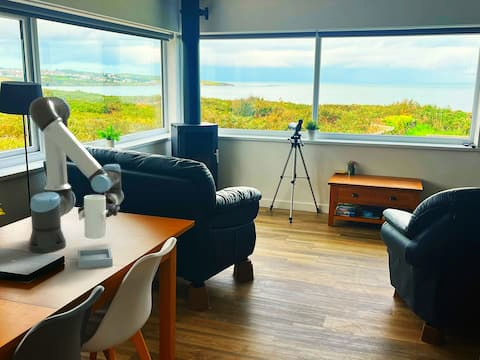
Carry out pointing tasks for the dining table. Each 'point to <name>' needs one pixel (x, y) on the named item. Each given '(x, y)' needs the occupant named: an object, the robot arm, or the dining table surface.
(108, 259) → the dock tray
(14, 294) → the dining table surface
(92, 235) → the cup
